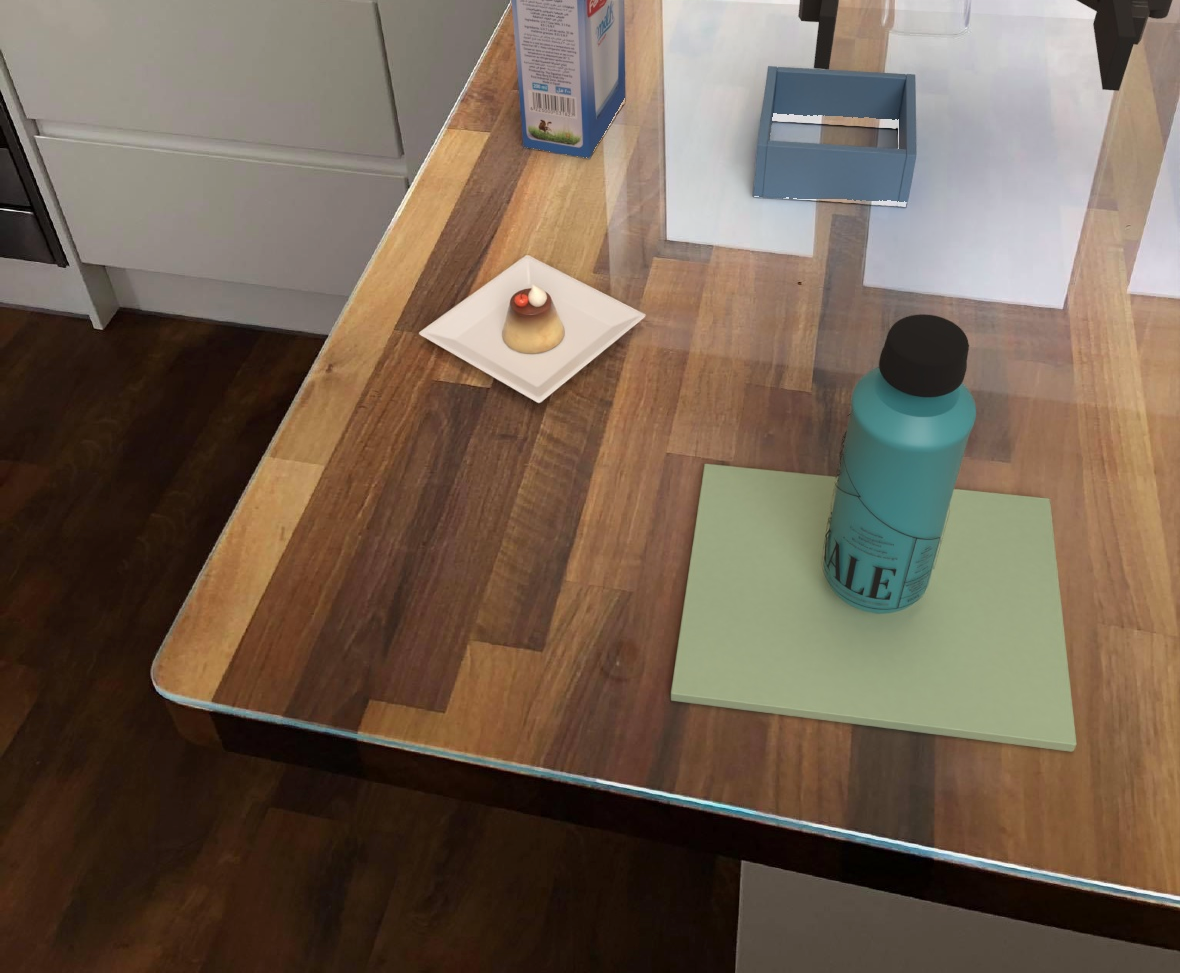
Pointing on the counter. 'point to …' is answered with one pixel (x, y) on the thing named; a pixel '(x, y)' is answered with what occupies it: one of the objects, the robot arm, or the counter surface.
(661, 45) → the counter surface
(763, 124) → the box
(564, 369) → the dessert
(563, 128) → the milk carton
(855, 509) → the beverage bottle
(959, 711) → the mat
